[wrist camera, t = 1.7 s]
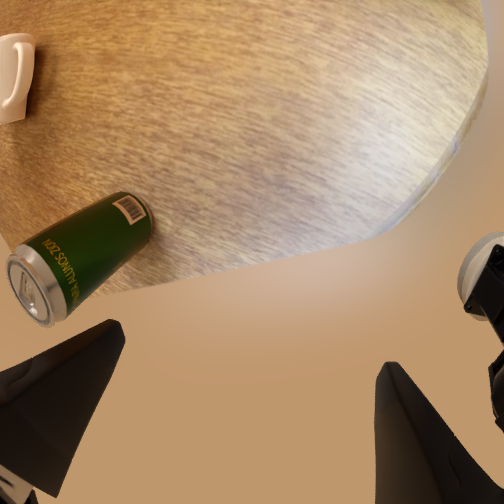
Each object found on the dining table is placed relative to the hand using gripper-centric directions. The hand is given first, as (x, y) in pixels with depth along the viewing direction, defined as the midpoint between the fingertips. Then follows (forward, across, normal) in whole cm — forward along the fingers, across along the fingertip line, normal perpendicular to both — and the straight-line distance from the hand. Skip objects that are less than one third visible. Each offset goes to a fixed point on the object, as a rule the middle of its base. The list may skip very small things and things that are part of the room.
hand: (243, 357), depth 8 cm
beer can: (+13, +13, +1) cm, 19 cm away
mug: (+14, +28, -15) cm, 34 cm away
